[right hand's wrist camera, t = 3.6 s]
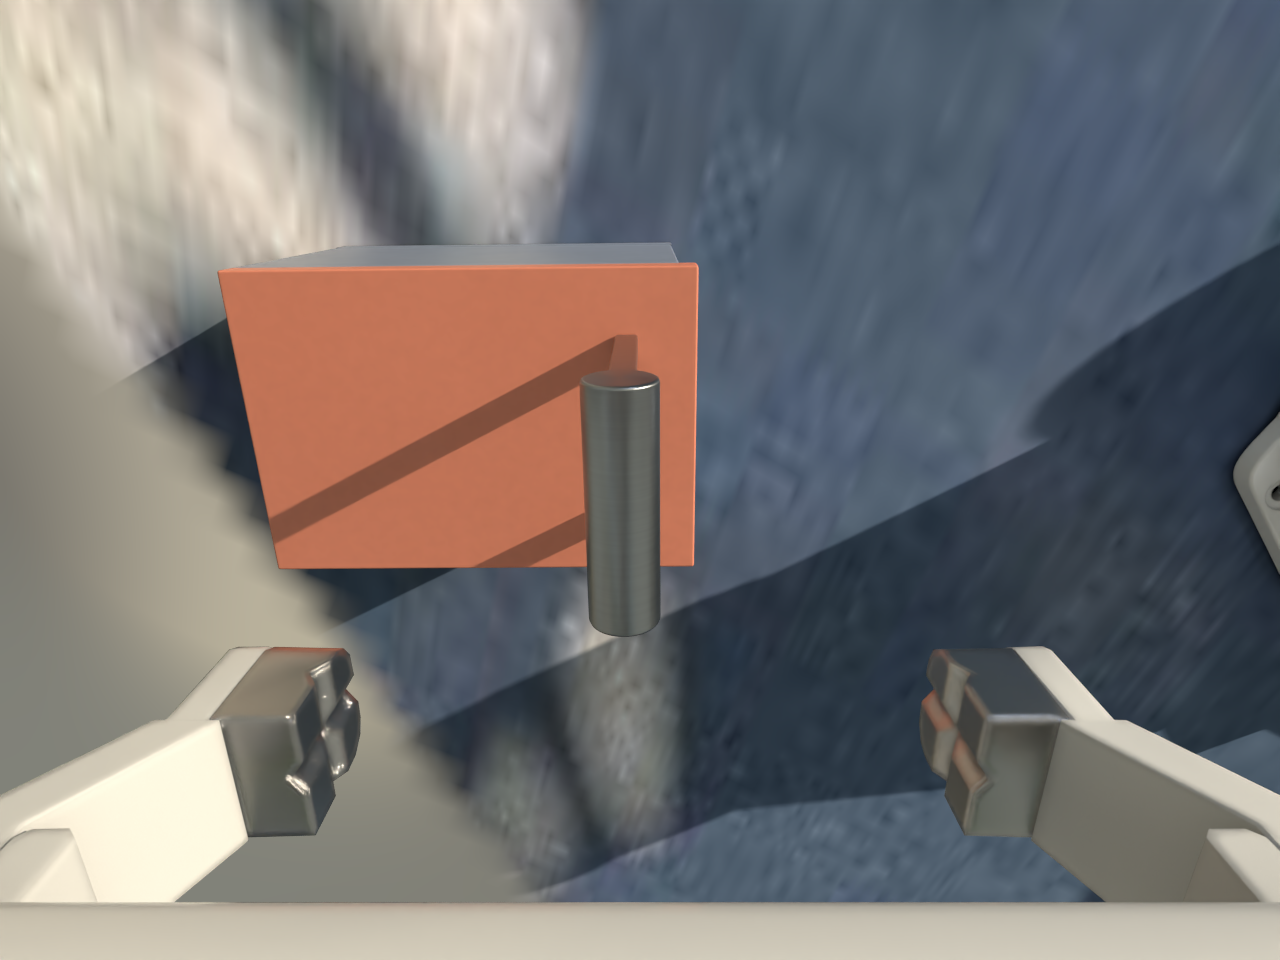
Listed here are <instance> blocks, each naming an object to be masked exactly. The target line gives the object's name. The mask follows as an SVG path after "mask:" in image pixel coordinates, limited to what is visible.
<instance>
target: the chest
mask: <svg viewBox="0 0 1280 960" xmlns="http://www.w3.org/2000/svg"><path fill="white" fill-rule="evenodd" d="M630 263H678V260H677V258H676V256H675V254H674V252H673V249H672V247H671V243H585V244H498V245H412V246H344V247H338V248H336V249H331V250H326V251H320V252H315V253H310V254H305V255H299V256H294V257H289V258H283V259H278V260H273V261H268V262H262V263H257V264H252V265H247V266H241V267H236V268H275V267H364V266H453V265H542V264H630Z"/></svg>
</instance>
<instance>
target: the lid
mask: <svg viewBox="0 0 1280 960" xmlns="http://www.w3.org/2000/svg"><path fill="white" fill-rule="evenodd" d="M218 278H219V282H220V287H221V292H222V297H223V302H224V307H225V311H226V316H227V321H228V326H229V331H230V336H231V340H232V345H233V350H234V355H235V360H236V365H237V369H238V374H239V379H240V384H241V389H242V394H243V398H244V403H245V408H246V413H247V418H248V423H249V428H250V432H251V437H252V442H253V447H254V452H255V457H256V461H257V466H258V471H259V476H260V481H261V486H262V490H263V495H264V500H265V505H266V510H267V515H268V519H269V524H270V529H271V534H272V539H273V544H274V548H275V553H276V558H277V563H278V568H279V569H360V568H505V567H587V581H588V605H589V620H590V622H591V624H592V626H593V627H594V628H595V629H596V630H598V631H600V632H602V633H604V634H607V635H611V636H618V637H629V636H636V635H640V634H643V633H646V632H648V631H650V630H651V629H653V628H654V627H655V626H656V625H657V624H658V622H659V620H660V566H693V565H694V515H695V452H696V389H697V326H698V265H697V264H696V263H630V264H542V265H453V266H364V267H275V268H230V269H225V270H220V271H218Z"/></svg>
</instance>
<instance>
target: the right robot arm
mask: <svg viewBox="0 0 1280 960" xmlns="http://www.w3.org/2000/svg"><path fill="white" fill-rule="evenodd" d="M1233 480H1234V483H1235V485H1236V488H1237V490H1238V492H1239V494H1240V496H1241V498H1242V500H1243V502H1244V504H1245V506H1246V508H1247V510H1248V512H1249V514H1250V516H1251V518H1252V520H1253V522H1254V524H1255V526H1256V528H1257V530H1258V532H1259V534H1260V536H1261V538H1262V540H1263V542H1264V544H1265V546H1266V548H1267V550H1268V552H1269V554H1270V556H1271V558H1272V560H1273V562H1274V564H1275V566H1276V568H1277V570H1278V572H1279V574H1280V412H1279V413H1278V415H1277V416H1276V418H1275V419H1274V420H1273V421H1272V422H1271V423H1270V424H1269V425H1268V426H1267V427H1266V428H1265V429H1264V430H1263V431H1262V432H1261V433H1260V434H1259V435H1258V436H1257V437H1256V438H1255V439H1254V441H1253V442H1252V443H1251V444H1250V445H1249V446H1248V447H1247V448H1246V450H1245V451H1244V452H1243V454H1242V455H1241V456H1240V458H1239V459H1238V461H1237V463H1236V465H1235V467H1234V471H1233ZM1278 485H1279V486H1278ZM1276 486H1278V488H1277V490H1276V491H1275V492H1274V493H1272V491H1273V489H1274V488H1275V487H1276ZM353 676H354V673H353V668H352V663H351V658H350V654H349V653H348V652H347V651H346V650H345V649H344V648H299V647H273V648H271V647H237V648H233V649H230V650H229V651H228V652H227V653H226V654H225V655H224V656H223V657H222V658H221V659H220V660H219V662H218V663H217V664H216V665H215V666H214V667H213V668H212V669H211V670H210V672H209V673H208V674H207V675H206V676H205V677H204V678H203V679H202V680H201V681H200V683H199V684H198V685H197V686H196V687H195V688H194V689H193V690H192V691H191V693H190V694H189V695H188V696H187V697H186V698H185V699H184V700H183V701H182V703H181V704H180V705H179V706H178V707H177V708H176V709H175V710H174V711H173V713H172V714H171V715H170V716H169V717H168V718H167V719H166V720H153V721H151V722H149V723H147V724H145V725H143V726H141V727H139V728H137V729H135V730H133V731H131V732H129V733H126V734H124V735H122V736H120V737H118V738H116V739H114V740H112V741H110V742H108V743H106V744H104V745H102V746H100V747H98V748H96V749H94V750H92V751H90V752H88V753H86V754H84V755H82V756H79V757H77V758H75V759H73V760H71V761H69V762H67V763H65V764H63V765H61V766H59V767H57V768H55V769H53V770H51V771H49V772H47V773H45V774H43V775H41V776H39V777H36V778H34V779H32V780H30V781H28V782H26V783H24V784H22V785H20V786H18V787H16V788H14V789H12V790H10V791H8V792H6V793H4V794H2V795H0V960H1280V795H1278V794H1276V793H1274V792H1272V791H1270V790H1268V789H1266V788H1264V787H1262V786H1260V785H1258V784H1255V783H1253V782H1251V781H1249V780H1247V779H1245V778H1243V777H1241V776H1239V775H1237V774H1235V773H1233V772H1231V771H1229V770H1227V769H1225V768H1223V767H1221V766H1219V765H1217V764H1215V763H1213V762H1211V761H1209V760H1207V759H1204V758H1202V757H1200V756H1198V755H1196V754H1194V753H1192V752H1190V751H1188V750H1186V749H1184V748H1182V747H1180V746H1178V745H1176V744H1174V743H1172V742H1170V741H1168V740H1166V739H1164V738H1162V737H1160V736H1158V735H1156V734H1154V733H1151V732H1149V731H1147V730H1145V729H1143V728H1141V727H1139V726H1137V725H1135V724H1133V723H1131V722H1129V721H1127V720H1114V719H1113V718H1112V717H1111V716H1110V715H1109V714H1108V713H1107V711H1106V710H1105V709H1104V708H1103V707H1102V706H1101V705H1100V704H1099V703H1098V701H1097V700H1096V699H1095V698H1094V697H1093V696H1092V695H1091V694H1090V693H1089V691H1088V690H1087V689H1086V688H1085V687H1084V686H1083V685H1082V684H1081V683H1080V681H1079V680H1078V679H1077V678H1076V677H1075V676H1074V675H1073V674H1072V673H1071V671H1070V670H1069V669H1068V668H1067V667H1066V666H1065V665H1064V664H1063V663H1062V661H1061V660H1060V659H1059V658H1058V657H1057V656H1056V655H1055V654H1054V653H1053V652H1052V651H1051V650H1050V649H1047V648H1045V647H1043V646H1036V647H1008V648H985V649H934V650H933V652H932V654H931V656H930V658H929V661H928V667H927V672H926V676H927V677H928V679H929V681H930V682H931V684H932V686H933V688H934V690H933V691H932V692H931V693H930V694H929V695H928V696H927V697H926V698H925V699H924V700H923V701H922V703H921V711H920V719H919V726H920V738H921V744H922V748H923V751H924V755H925V758H926V760H927V762H928V764H929V766H930V768H931V770H932V771H933V772H934V773H936V774H937V775H939V776H940V777H941V778H943V779H944V780H946V781H947V784H946V789H945V795H944V796H945V798H946V800H947V802H948V804H949V806H950V808H951V810H952V812H953V814H954V816H955V818H956V820H957V821H958V823H959V825H960V827H961V829H962V831H963V833H964V835H972V836H1007V837H1032V839H1031V840H1032V841H1033V842H1034V843H1035V844H1036V845H1038V846H1039V847H1040V848H1041V849H1042V850H1044V851H1045V852H1046V853H1047V854H1048V855H1050V856H1051V857H1052V858H1053V859H1054V860H1056V861H1057V862H1058V863H1059V864H1061V865H1062V866H1063V867H1064V868H1065V869H1067V870H1068V871H1069V872H1070V873H1071V874H1073V875H1074V876H1075V877H1076V878H1077V879H1079V880H1080V881H1081V882H1082V883H1083V884H1085V885H1086V886H1087V887H1088V888H1089V889H1091V890H1092V891H1093V892H1094V893H1095V894H1097V895H1098V896H1099V897H1100V898H1102V899H1103V900H1104V901H1105V902H175V901H176V900H177V899H179V898H180V897H181V896H182V895H184V894H185V893H186V892H187V891H188V890H190V889H191V888H192V887H193V886H194V885H196V884H197V883H198V882H199V881H200V880H202V879H203V878H204V877H205V876H206V875H208V874H209V873H210V872H211V871H212V870H214V869H215V868H216V867H217V866H219V865H220V864H221V863H222V862H223V861H225V860H226V859H227V858H228V857H229V856H231V855H232V854H233V853H234V852H235V851H237V850H238V849H239V848H240V847H241V846H243V845H244V844H245V843H246V842H247V841H248V837H272V836H306V835H316V833H317V831H318V829H319V827H320V826H321V824H322V822H323V820H324V817H325V816H326V814H327V812H328V810H329V808H330V806H331V804H332V802H333V800H334V798H335V796H336V795H335V789H334V784H333V781H334V780H336V779H337V778H339V777H340V776H341V775H343V774H344V773H346V772H347V771H348V770H349V768H350V766H351V764H352V762H353V759H354V757H355V755H356V751H357V747H358V742H359V738H360V718H361V717H360V710H359V703H358V701H357V700H356V699H355V698H354V697H353V696H352V695H351V694H350V693H349V692H348V691H347V690H346V688H347V686H348V684H349V682H350V681H351V679H352V677H353Z"/></svg>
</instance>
